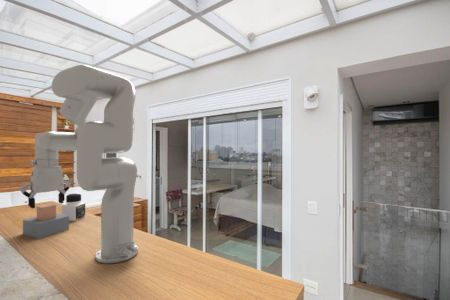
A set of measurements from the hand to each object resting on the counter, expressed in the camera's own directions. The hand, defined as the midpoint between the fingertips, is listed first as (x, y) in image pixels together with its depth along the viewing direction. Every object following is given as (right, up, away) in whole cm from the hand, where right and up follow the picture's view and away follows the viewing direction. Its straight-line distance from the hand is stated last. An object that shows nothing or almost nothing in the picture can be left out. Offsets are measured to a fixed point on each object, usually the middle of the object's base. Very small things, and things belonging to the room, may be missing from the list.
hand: (47, 205), depth 94 cm
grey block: (-1, -11, 0) cm, 11 cm away
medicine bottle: (-1, -11, +17) cm, 21 cm away
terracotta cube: (-1, -5, 0) cm, 5 cm away
